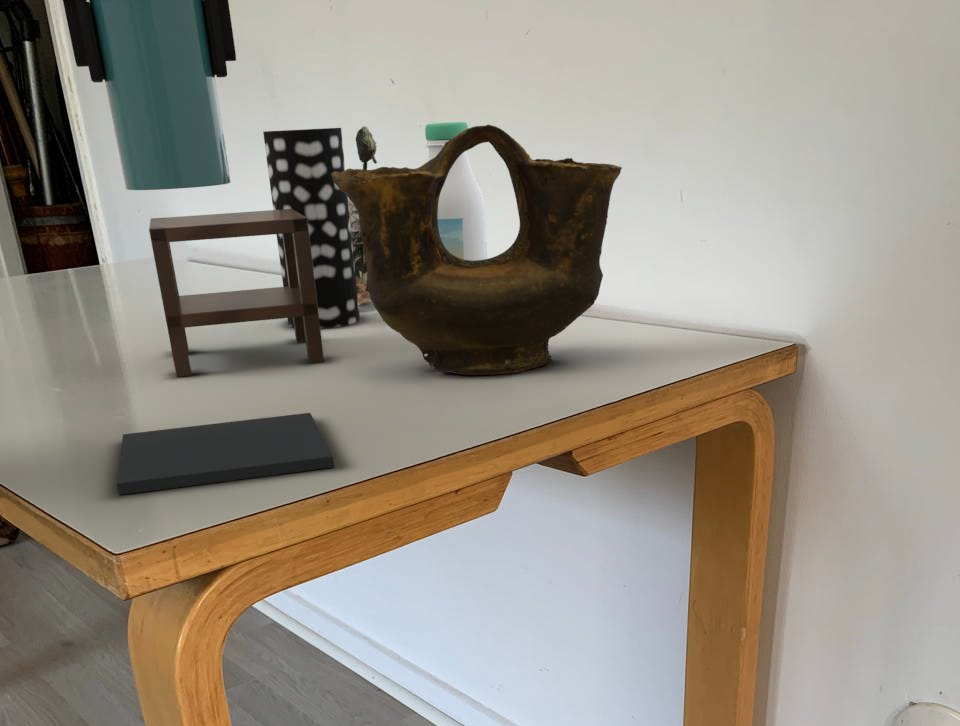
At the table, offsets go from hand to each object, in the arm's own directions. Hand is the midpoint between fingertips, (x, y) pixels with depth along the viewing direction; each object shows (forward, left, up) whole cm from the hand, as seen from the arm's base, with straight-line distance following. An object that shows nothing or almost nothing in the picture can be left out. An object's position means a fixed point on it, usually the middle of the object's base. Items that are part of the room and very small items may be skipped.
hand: (160, 75), depth 59 cm
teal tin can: (0, +1, -6) cm, 6 cm away
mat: (0, 0, -24) cm, 24 cm away
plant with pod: (+20, +59, -24) cm, 67 cm away
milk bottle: (+29, +45, -24) cm, 59 cm away
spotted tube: (+14, +49, -24) cm, 56 cm away
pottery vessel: (+25, +19, -24) cm, 39 cm away
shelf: (+4, +34, -24) cm, 41 cm away
